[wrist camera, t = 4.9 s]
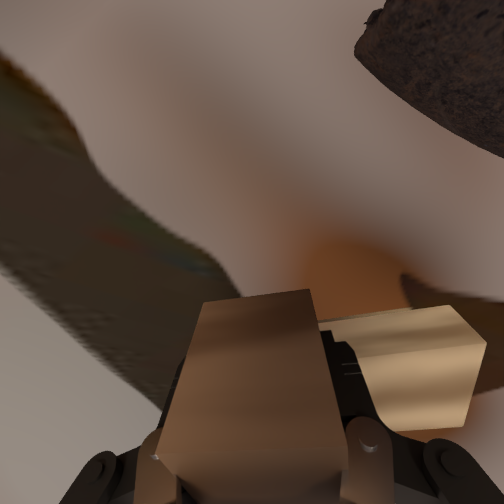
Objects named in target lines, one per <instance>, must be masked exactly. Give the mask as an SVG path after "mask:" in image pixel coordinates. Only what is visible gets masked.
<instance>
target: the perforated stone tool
mask: <svg viewBox="0 0 504 504" xmlns="http://www.w3.org/2000/svg"><path fill="white" fill-rule="evenodd" d="M364 24H366V25H367V27H366V28H367V29H366V30H365V32H364V34H363V35H362V36H361V37H360V38H359V40H358V41H357V43H356V45H355V47H354V48H355V50H354V56H355V57H356V58H357V59H358V60H359V61H360V62H361V63H362V65H363V66H364V67H365V68H366V69H368V70H369V71H370V73H372V74H373V75H374V76H375V77H376V78H377V79H378V80H379V81H380V82H381V83H382V84H384V85H385V86H386V87H387V88H389V90H391V91H392V92H394V93H395V94H396V95H397V96H399V97H400V98H402V99H403V100H404V101H406V102H407V103H408V104H410V105H411V106H412V107H414V108H415V109H417V110H418V111H420V112H421V113H423V114H424V115H426V116H427V117H429V118H430V119H432V120H433V121H435V122H437V123H438V124H439V125H441V126H443V127H444V128H446V129H447V130H449V131H451V132H452V133H454V134H456V135H458V136H460V137H462V138H464V139H466V140H467V141H469V142H470V143H472V144H475V145H476V146H478V147H480V148H482V149H485V150H487V151H489V152H491V153H493V154H495V155H498V156H499V157H502V158H504V0H386V2H385V4H384V8H383V9H378V10H374V11H373V12H372V13H371V15H370V16H369V18H368V20H367V22H365V23H364Z"/></svg>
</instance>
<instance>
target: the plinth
mask: <svg viewBox="0 0 504 504" xmlns="http://www.w3.org/2000/svg"><path fill="white" fill-rule="evenodd" d="M317 322H318V326H319V330H320V331H324V330H331V331H332V334H333V337H334V340H335V342H340V341H346V342H347V343H348V344H349V345H350V346H351V347H352V349H353V350H354V351H355V354H356V357H357V360H358V363H359V365H360V368H361V370H362V374H363V376H364V379H365V381H366V384H367V387H368V390H369V392H370V395H371V398H372V401H373V403H374V406H375V409H376V411H377V414H378V416H379V417H380V419H381V420H382V422H383V423H384V424H385V425H386V426H387V427H388V428H390V429H391V430H392V431H407V430H420V429H435V428H448V427H461V426H462V427H463V425H464V421H465V417H466V414H467V411H468V407H469V404H470V400H471V397H472V393H473V390H474V386H475V383H476V379H477V376H478V372H479V369H480V365H481V362H482V358H483V355H484V351H485V348H486V344H487V343H486V342H485V341H484V340H483V339H482V338H481V336H480V335H479V334H478V333H477V332H476V331H475V330H474V329H473V328H472V327H471V326H470V325H469V324H468V323H467V322H466V321H465V320H464V319H463V318H462V317H461V316H460V315H459V314H458V313H457V312H456V311H455V310H454V309H453V308H452V307H451V306H450V305H445V306H438V307H431V308H424V309H417V310H411V308H410V307H408V308H401V309H394V310H387V311H380V312H373V313H366V314H359V315H352V316H345V317H339V318H332V319H324V320H317Z"/></svg>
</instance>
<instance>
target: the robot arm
mask: <svg viewBox="0 0 504 504" xmlns="http://www.w3.org/2000/svg"><path fill="white" fill-rule="evenodd" d="M320 334H321V339H322V343H323V347H324V351H325V355H326V359H327V363H328V367H329V371H330V376H331V380H332V384H333V388H334V392H335V396H336V400H337V404H338V409H339V413H340V417H341V421H342V425H343V429H344V433H345V437H346V441H347V446H348V467H349V470H342V477H341V489H340V500H339V504H504V495H503V493H502V492H501V491H500V490H499V489H498V487H497V486H496V485H495V484H494V482H493V481H492V480H491V479H490V478H489V476H488V475H487V474H486V473H485V471H484V470H483V469H482V468H481V467H480V465H479V464H478V463H477V462H476V460H475V459H474V458H473V457H472V456H471V455H470V454H469V453H468V452H467V451H466V450H465V449H464V448H462V447H461V446H459V445H458V444H456V443H454V442H452V441H449V440H446V439H440V438H438V439H432V440H430V441H429V442H428V443H424V442H421V441H417V440H414V439H410V438H407V437H404V436H401V435H399V434H397V433H395V432H394V431H392V430H391V429H390V428H388V427H387V426H386V425H385V424H384V423H383V422H382V420H381V419H380V417H379V416H378V414H377V411H376V409H375V406H374V403H373V401H372V398H371V395H370V392H369V390H368V387H367V384H366V381H365V379H364V376H363V374H362V370H361V368H360V365H359V363H358V360H357V357H356V354H355V351H354V350H353V349H352V347H351V346H350V345H349V344H348V343H347V342H346V341H340V342H335V340H334V337H333V334H332V331H331V330H324V331H320ZM185 359H186V356H185V358H184V359H183V360H182V362H181V363H180V364H179V366H178V368H177V371H176V374H175V377H174V380H173V383H172V386H171V389H170V391H169V394H168V397H167V400H166V403H165V406H164V409H163V412H162V415H161V418H160V421H159V424H158V426H157V428H156V430H154V431H153V432H151V433H150V434H149V435H148V436H147V437H146V438H145V440H144V441H143V443H142V445H140V446H139V447H137V448H135V449H132V450H130V451H128V452H125V453H123V454H121V455H119V456H116V455H115V454H114V453H113V452H111V451H104V452H101V453H99V454H97V455H95V456H94V457H93V458H91V459H90V461H88V462H87V464H86V465H85V466H84V467H83V469H82V470H81V472H80V473H79V475H78V476H77V478H76V479H75V481H74V482H73V483H72V485H71V486H70V488H69V490H68V491H67V492H66V494H65V495H64V497H63V498H62V500H61V501H60V503H59V504H200V502H199V501H198V500H197V499H193V498H192V497H191V495H190V494H189V493H188V492H187V491H186V490H185V488H184V487H183V486H182V485H181V480H180V478H179V477H178V476H177V475H176V474H172V473H171V472H170V471H169V470H168V469H167V467H166V466H165V465H164V464H163V463H162V462H161V460H160V459H159V458H158V457H157V456H156V454H155V452H156V449H157V446H158V443H159V439H160V436H161V433H162V430H163V427H164V424H165V421H166V418H167V415H168V412H169V409H170V405H171V402H172V399H173V396H174V393H175V390H176V387H177V384H178V381H179V378H180V375H181V371H182V368H183V365H184V362H185Z"/></svg>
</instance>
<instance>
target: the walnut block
mask: <svg viewBox="0 0 504 504" xmlns="http://www.w3.org/2000/svg"><path fill="white" fill-rule="evenodd" d="M155 454H156V456H157V457H158V458H159V459H160V460H161V462H162V463H163V464H164V465H165V466H166V467H167V469H168V470H169V471H170V472H171V473H172V474H176V475H177V476H178V477H179V478H180V480H181V485H182V486H183V487H184V488H185V490H186V491H187V492H188V493H189V494H190V495H191V497H192V498H193V499H197V500H198V501H199V502H200V504H339V500H340V489H341V477H342V470H349V467H348V446H347V441H346V437H345V433H344V429H343V425H342V421H341V417H340V413H339V409H338V404H337V400H336V396H335V392H334V388H333V384H332V380H331V376H330V371H329V367H328V363H327V359H326V355H325V351H324V347H323V343H322V339H321V334H320V330H319V326H318V322H317V318H316V314H315V310H314V306H313V301H312V298H311V293H310V290H309V289H303V290H296V291H288V292H280V293H273V294H265V295H257V296H251V297H242V298H235V299H227V300H219V301H212V302H204V303H203V306H202V310H201V313H200V316H199V319H198V322H197V325H196V328H195V331H194V334H193V337H192V341H191V344H190V347H189V350H188V353H187V356H186V359H185V362H184V365H183V368H182V371H181V375H180V378H179V381H178V384H177V387H176V390H175V393H174V396H173V399H172V402H171V405H170V409H169V412H168V415H167V418H166V421H165V424H164V427H163V430H162V433H161V436H160V439H159V443H158V446H157V449H156V452H155Z"/></svg>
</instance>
